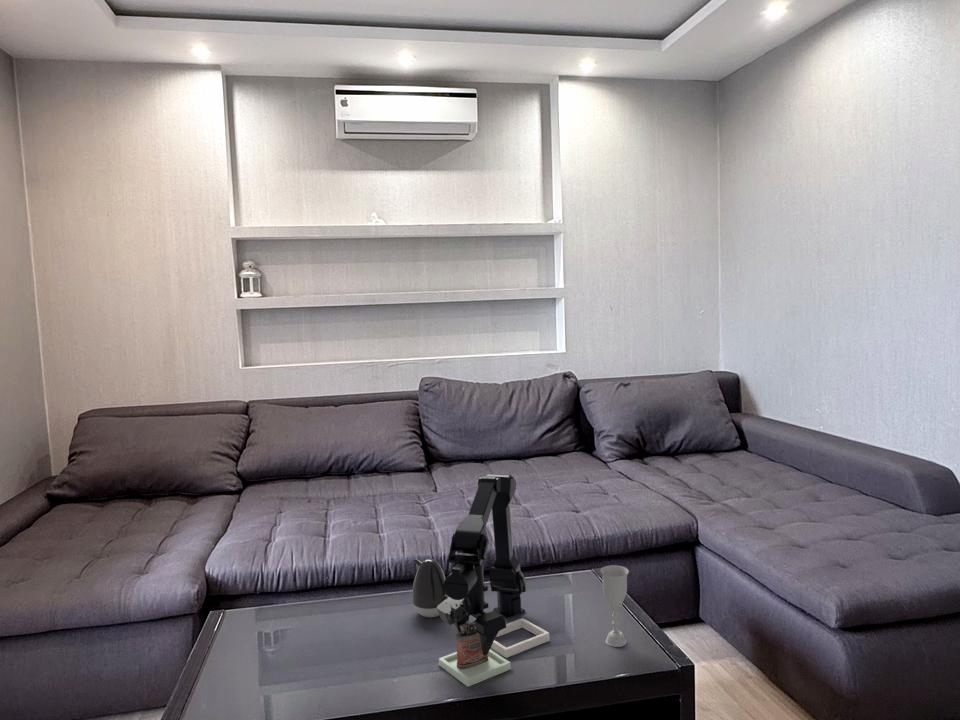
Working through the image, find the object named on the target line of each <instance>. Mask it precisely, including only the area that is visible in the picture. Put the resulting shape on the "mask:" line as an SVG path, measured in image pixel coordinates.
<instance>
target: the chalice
mask: <svg viewBox="0 0 960 720" xmlns="http://www.w3.org/2000/svg"><path fill="white" fill-rule="evenodd" d="M629 571H630V570H629V569H628V568H627V567H625V566H622V565H616V564H614V565H611V564H610V565H606V566H603V567H601V569H600V573H601V575H602V592H603V595H604V597H605V600H606V602H607V604H608V606H609V608H612V610H613V611H612V615H611V616H612V618H613V621H612V622H611V624H613V629H612V630H610V631H609V632H608V633H607V637H606V639H605V644H607V645H608V646H610V647H615V648H620V647H623V646H625V645H626V644H627V641H626V639H625V637H624V634H623V632H622V631H621V630H619V629H618V626H619V624H620V622H619V621H618V617H619V613H618V609H620V608H621V607H622V605H623V602H624V600H625V598H626V595H627V593H628V574H629Z"/></svg>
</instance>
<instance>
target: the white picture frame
mask: <svg viewBox="0 0 960 720" xmlns="http://www.w3.org/2000/svg"><path fill="white" fill-rule="evenodd" d="M519 629H524V630H526V631H528V632H530V633H531V634H533V635H535V636H533V637H531V638H530V637H529V638H528V639H525V640H522V641H520V642H518V643H515V644H512V645H510V646H508V647H506V646H505V645H503V644H501V643H500V642H498V641H497V640H496V638H497V637H500V636H503V635H506V634H508V633H513V631H517V630H519ZM548 642H550V632H548V631H547V630H545V629H543V628H542V627H540V626H537V625H536V624H534V623H532V622H530V621H529V620H527V619H525V618H523V617H522V618H519V619H516V620H514V621H511V622H508V623H506V628H504V629H502V630H500V631H499V632H498V634H497V636H496V637H495V639H494V641H493V644H492V646H491V648H490V649H491V650H492V651H494V652H495V653H497V654H498V655H500V656H501V657H503V658H504V659H507V658H509V657H512V656H515V655H518V654H520V653H522V652H524V651H527V650H529V649H533V648H535V647H537V646H539V645H543V644H545V643H548Z"/></svg>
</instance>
